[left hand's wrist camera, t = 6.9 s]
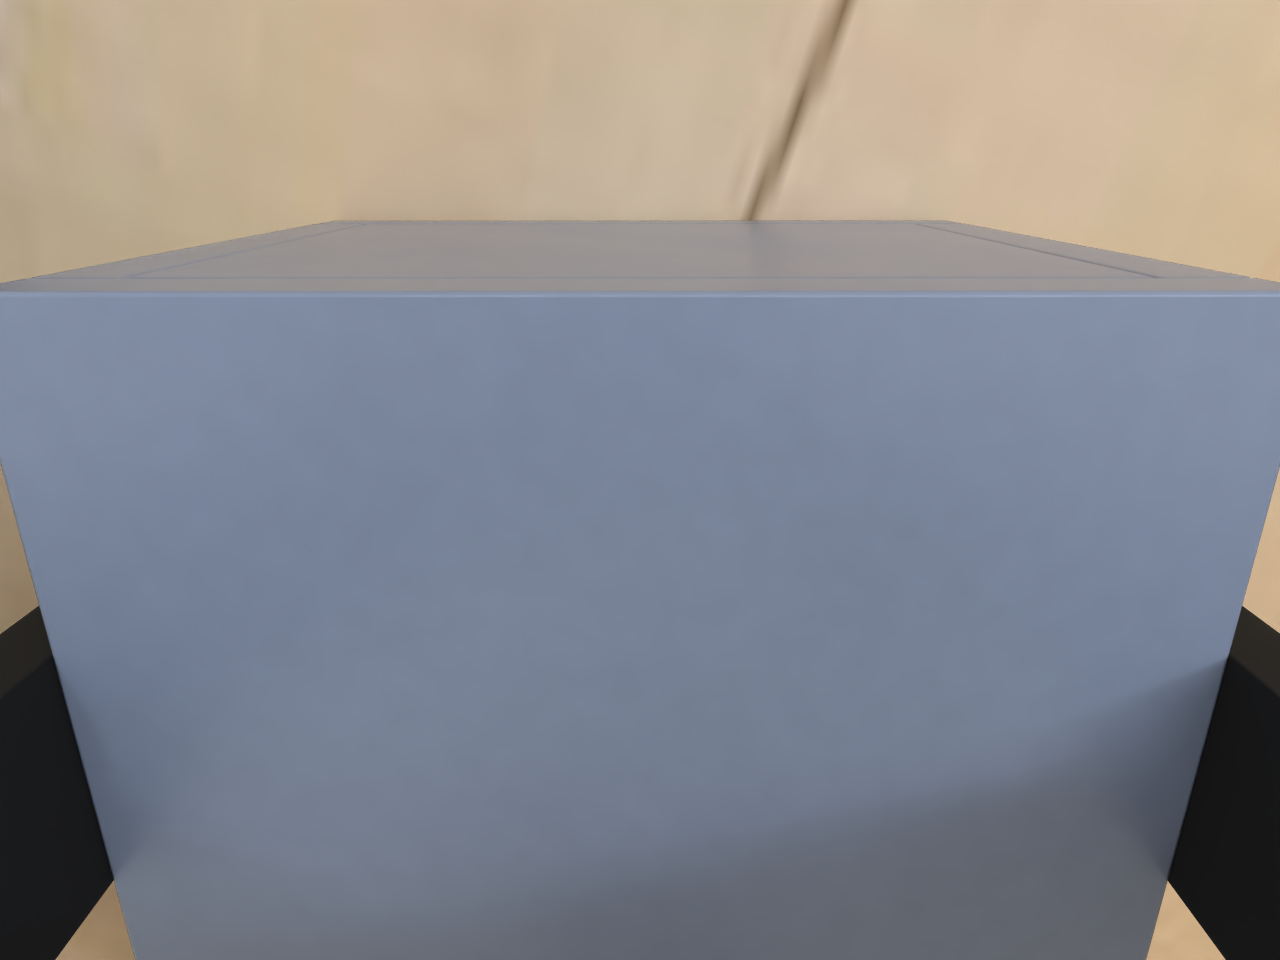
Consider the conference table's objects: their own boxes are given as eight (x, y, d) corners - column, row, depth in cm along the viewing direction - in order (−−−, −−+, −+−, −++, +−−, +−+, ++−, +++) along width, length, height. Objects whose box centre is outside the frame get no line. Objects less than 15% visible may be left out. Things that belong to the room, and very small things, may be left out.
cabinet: (865, 932, 21) (1016, 1446, 13) (415, 932, 21) (266, 1446, 13) (949, 220, 15) (1331, 290, 7) (331, 220, 15) (-50, 291, 7)
